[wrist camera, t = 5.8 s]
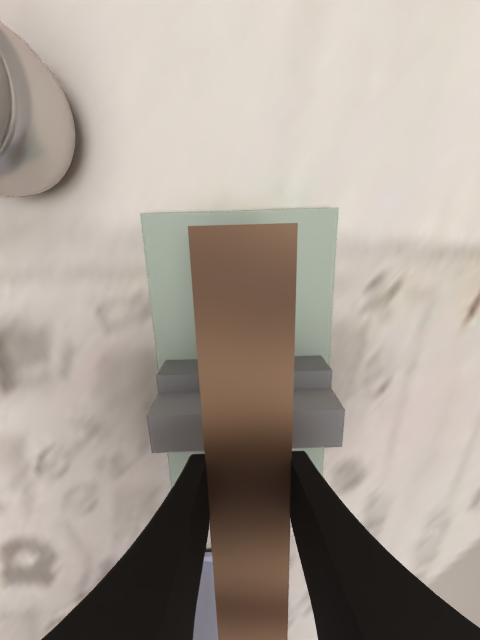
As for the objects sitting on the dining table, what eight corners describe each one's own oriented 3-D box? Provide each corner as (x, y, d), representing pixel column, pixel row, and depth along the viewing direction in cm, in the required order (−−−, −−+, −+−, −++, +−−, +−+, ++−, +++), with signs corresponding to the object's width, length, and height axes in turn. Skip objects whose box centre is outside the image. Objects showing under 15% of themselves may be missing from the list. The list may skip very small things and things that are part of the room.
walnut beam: (277, 574, 16) (287, 650, 13) (222, 576, 16) (219, 652, 13) (281, 227, 11) (297, 223, 8) (200, 229, 11) (187, 225, 8)
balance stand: (316, 503, 21) (340, 583, 16) (178, 508, 21) (160, 589, 16) (332, 209, 16) (375, 196, 11) (146, 215, 15) (105, 203, 11)
